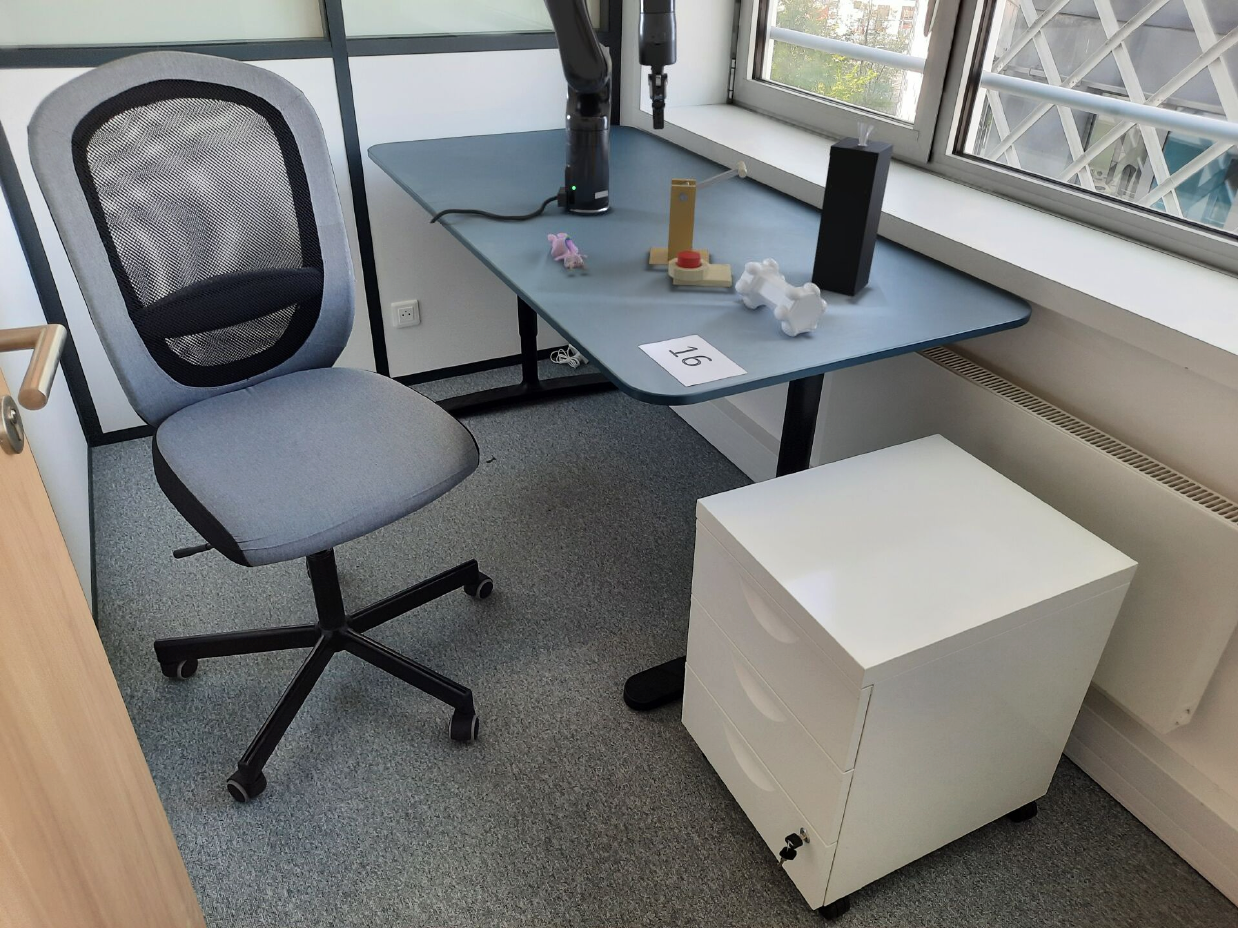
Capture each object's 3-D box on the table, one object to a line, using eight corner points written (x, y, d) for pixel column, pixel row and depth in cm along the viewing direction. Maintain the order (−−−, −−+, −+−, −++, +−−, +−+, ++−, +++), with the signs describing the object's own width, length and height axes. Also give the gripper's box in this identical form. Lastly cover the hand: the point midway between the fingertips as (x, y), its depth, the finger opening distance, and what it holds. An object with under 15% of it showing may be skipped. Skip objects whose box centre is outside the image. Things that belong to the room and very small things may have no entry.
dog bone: (826, 333, 139) (834, 284, 134) (780, 342, 136) (786, 292, 131) (774, 299, 150) (779, 253, 146) (730, 307, 147) (734, 260, 143)
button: (677, 269, 151) (677, 258, 150) (677, 261, 154) (677, 250, 153) (700, 270, 151) (701, 259, 150) (699, 262, 154) (700, 251, 153)
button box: (667, 292, 152) (668, 270, 150) (668, 273, 159) (669, 252, 157) (730, 294, 151) (733, 272, 149) (728, 276, 159) (730, 254, 157)
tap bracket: (707, 255, 168) (713, 177, 160) (709, 272, 160) (715, 190, 152) (650, 253, 168) (653, 175, 160) (648, 270, 161) (652, 188, 153)
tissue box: (852, 302, 149) (882, 131, 134) (809, 292, 153) (833, 124, 138) (867, 288, 155) (898, 122, 140) (825, 279, 159) (850, 116, 143)
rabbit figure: (594, 280, 160) (569, 241, 170) (596, 250, 156) (570, 212, 166) (561, 283, 158) (538, 244, 168) (562, 253, 154) (538, 215, 164)
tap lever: (746, 169, 157) (742, 157, 156) (748, 178, 152) (744, 165, 151) (678, 197, 161) (673, 185, 160) (678, 206, 156) (673, 194, 155)
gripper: (638, 34, 178) (640, 119, 187) (638, 42, 166) (639, 132, 175) (675, 33, 178) (675, 117, 186) (677, 41, 166) (677, 131, 174)
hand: (658, 125), depth 180 cm, fingers open, 8 cm apart
